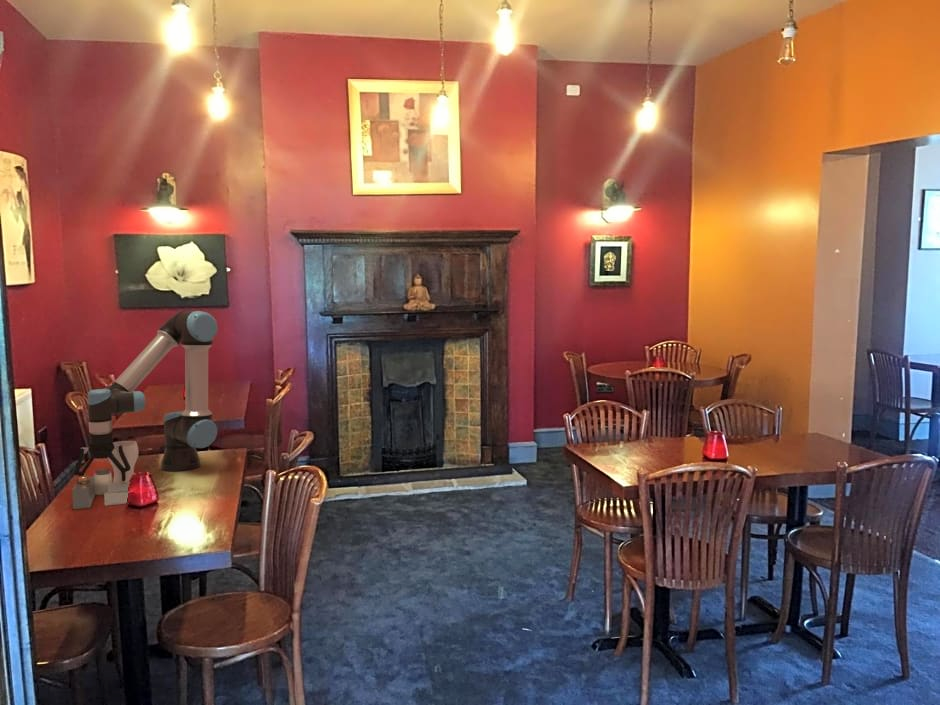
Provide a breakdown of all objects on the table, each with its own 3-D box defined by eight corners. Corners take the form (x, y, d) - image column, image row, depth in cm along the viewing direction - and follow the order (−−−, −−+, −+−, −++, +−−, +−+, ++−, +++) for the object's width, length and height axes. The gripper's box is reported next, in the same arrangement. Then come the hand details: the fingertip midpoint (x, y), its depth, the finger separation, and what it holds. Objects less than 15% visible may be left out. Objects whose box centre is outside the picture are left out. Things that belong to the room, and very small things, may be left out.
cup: (145, 478, 287) (143, 440, 286) (129, 486, 277) (128, 447, 275) (119, 478, 288) (117, 440, 287) (103, 485, 278) (101, 446, 276)
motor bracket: (133, 491, 270) (132, 467, 269) (130, 504, 255) (129, 478, 254) (79, 496, 264) (78, 471, 263) (73, 509, 249) (71, 483, 248)
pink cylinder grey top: (113, 489, 273) (112, 467, 272) (112, 493, 267) (111, 471, 267) (95, 490, 271) (94, 469, 270) (93, 495, 265) (92, 473, 264)
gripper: (137, 428, 274) (139, 485, 277) (65, 432, 266) (68, 492, 268) (135, 432, 268) (138, 491, 270) (62, 436, 259) (65, 497, 261)
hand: (103, 491), depth 269 cm, fingers open, 11 cm apart
